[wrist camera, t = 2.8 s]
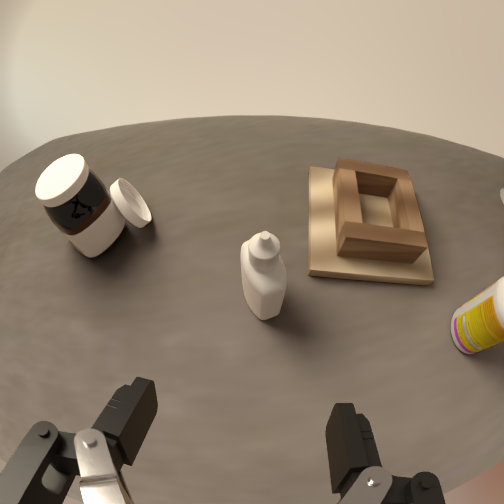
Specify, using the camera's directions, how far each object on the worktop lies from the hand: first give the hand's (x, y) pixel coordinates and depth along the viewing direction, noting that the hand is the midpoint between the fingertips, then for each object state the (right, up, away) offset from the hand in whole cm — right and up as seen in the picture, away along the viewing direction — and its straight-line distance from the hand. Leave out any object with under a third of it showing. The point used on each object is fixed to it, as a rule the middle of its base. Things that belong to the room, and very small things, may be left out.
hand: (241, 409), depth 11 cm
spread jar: (-19, +10, +25) cm, 33 cm away
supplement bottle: (+28, -3, +17) cm, 33 cm away
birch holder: (+16, +10, +24) cm, 31 cm away
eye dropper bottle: (+1, +2, +20) cm, 20 cm away
